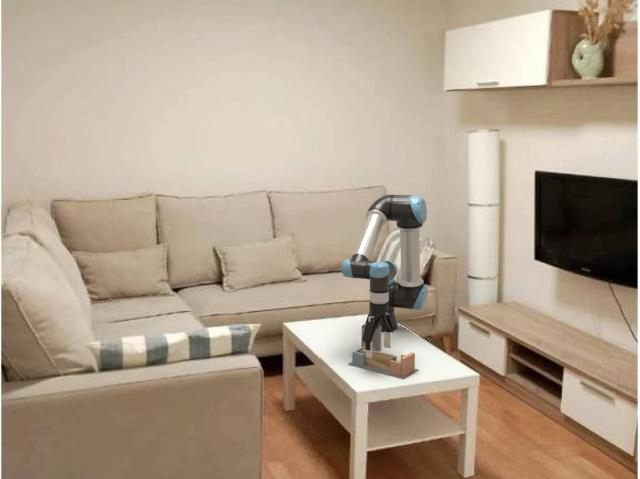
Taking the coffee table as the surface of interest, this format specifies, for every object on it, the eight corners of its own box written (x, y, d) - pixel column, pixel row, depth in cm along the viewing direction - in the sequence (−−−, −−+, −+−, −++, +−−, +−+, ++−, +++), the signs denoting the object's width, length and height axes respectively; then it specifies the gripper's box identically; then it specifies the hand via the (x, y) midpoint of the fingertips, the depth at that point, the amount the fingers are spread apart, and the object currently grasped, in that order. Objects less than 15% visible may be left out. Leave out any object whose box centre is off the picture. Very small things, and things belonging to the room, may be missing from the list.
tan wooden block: (364, 360, 303) (364, 348, 302) (396, 368, 294) (396, 356, 294) (359, 362, 300) (359, 351, 299) (391, 370, 291) (391, 358, 290)
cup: (379, 352, 313) (379, 330, 311) (360, 351, 315) (360, 328, 313) (381, 346, 321) (382, 324, 319) (363, 345, 323) (363, 323, 321)
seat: (364, 356, 308) (364, 344, 307) (418, 370, 293) (419, 357, 292) (347, 364, 299) (347, 352, 298) (403, 379, 284) (403, 365, 283)
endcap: (401, 366, 296) (402, 349, 295) (415, 369, 293) (415, 352, 291) (389, 373, 289) (390, 356, 287) (402, 376, 285) (403, 359, 284)
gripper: (387, 292, 304) (386, 341, 309) (353, 307, 285) (353, 359, 289) (403, 295, 300) (402, 345, 304) (369, 310, 281) (369, 363, 285)
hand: (378, 352), depth 297 cm, fingers open, 13 cm apart
